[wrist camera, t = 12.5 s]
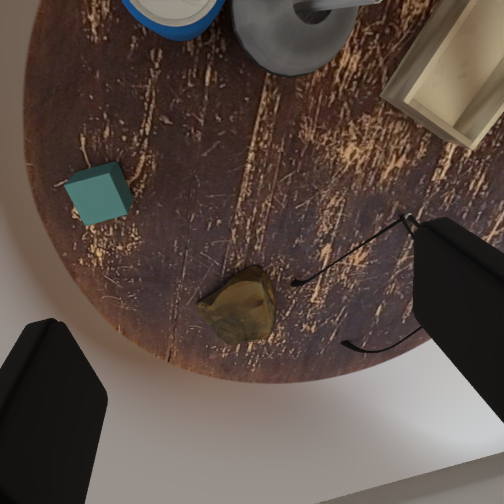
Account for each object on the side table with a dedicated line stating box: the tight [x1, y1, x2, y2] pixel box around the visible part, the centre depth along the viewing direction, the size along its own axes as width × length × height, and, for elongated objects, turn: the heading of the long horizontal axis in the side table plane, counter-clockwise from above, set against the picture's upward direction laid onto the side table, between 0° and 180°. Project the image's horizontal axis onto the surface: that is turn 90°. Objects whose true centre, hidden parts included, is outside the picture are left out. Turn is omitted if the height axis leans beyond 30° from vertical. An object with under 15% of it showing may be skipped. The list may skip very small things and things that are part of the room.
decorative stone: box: [196, 266, 277, 345], centre depth 43 cm, size 10×9×4 cm
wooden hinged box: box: [380, 0, 504, 150], centre depth 33 cm, size 12×9×5 cm
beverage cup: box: [230, 0, 382, 78], centre depth 22 cm, size 7×7×20 cm
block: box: [64, 161, 133, 226], centre depth 34 cm, size 4×4×4 cm
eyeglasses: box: [292, 213, 423, 353], centre depth 44 cm, size 16×16×4 cm
